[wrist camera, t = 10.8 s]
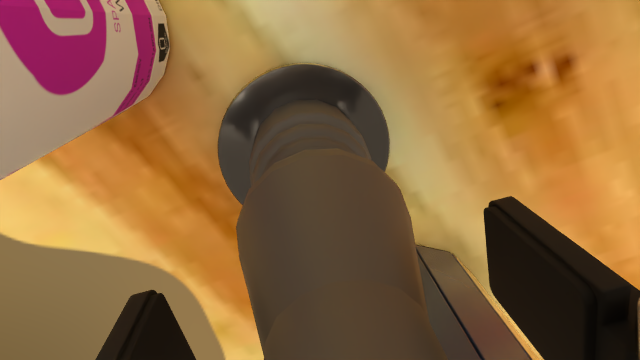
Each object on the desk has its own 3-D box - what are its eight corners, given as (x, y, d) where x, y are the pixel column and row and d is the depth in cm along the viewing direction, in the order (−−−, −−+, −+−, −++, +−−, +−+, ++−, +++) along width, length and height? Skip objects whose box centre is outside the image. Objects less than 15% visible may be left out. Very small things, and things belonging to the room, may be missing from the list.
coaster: (194, 88, 21) (190, 90, 20) (370, 42, 21) (373, 43, 20) (249, 240, 25) (248, 246, 24) (398, 200, 25) (402, 206, 24)
